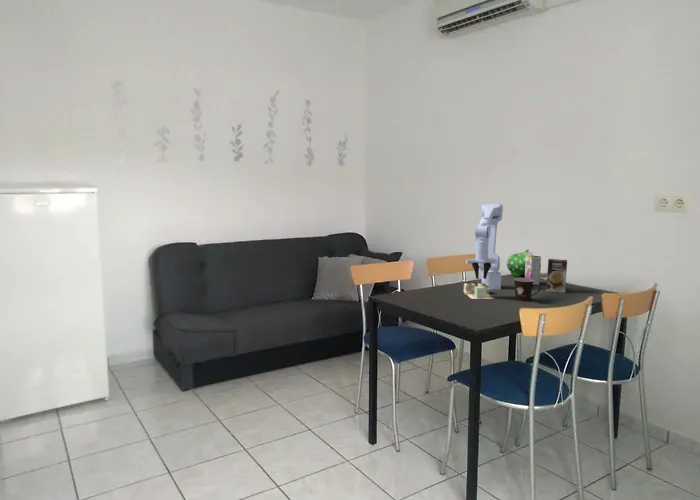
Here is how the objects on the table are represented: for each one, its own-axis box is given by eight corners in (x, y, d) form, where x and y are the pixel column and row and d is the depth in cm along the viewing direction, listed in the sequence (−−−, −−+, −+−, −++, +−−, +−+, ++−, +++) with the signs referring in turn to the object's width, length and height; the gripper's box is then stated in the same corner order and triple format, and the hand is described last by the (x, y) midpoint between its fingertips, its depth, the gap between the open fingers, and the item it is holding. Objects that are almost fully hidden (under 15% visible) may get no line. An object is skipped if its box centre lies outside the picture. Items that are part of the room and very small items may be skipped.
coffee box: (546, 291, 268) (547, 260, 265) (546, 288, 274) (548, 258, 271) (565, 293, 264) (567, 261, 262) (565, 290, 270) (567, 259, 268)
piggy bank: (540, 278, 300) (542, 252, 298) (507, 277, 303) (509, 252, 301) (536, 274, 314) (537, 249, 312) (505, 273, 317) (506, 248, 315)
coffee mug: (509, 299, 250) (510, 278, 249) (523, 297, 253) (524, 277, 252) (526, 305, 239) (527, 283, 238) (541, 303, 243) (542, 282, 241)
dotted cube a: (486, 292, 263) (486, 282, 262) (489, 294, 259) (489, 284, 258) (477, 292, 263) (477, 282, 262) (480, 294, 258) (480, 284, 258)
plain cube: (483, 295, 256) (483, 286, 255) (486, 297, 251) (486, 288, 251) (474, 295, 256) (474, 286, 255) (476, 297, 251) (477, 288, 251)
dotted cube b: (472, 292, 263) (472, 282, 262) (474, 294, 258) (475, 284, 258) (463, 292, 263) (463, 282, 262) (465, 294, 258) (466, 284, 257)
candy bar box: (523, 281, 291) (525, 252, 289) (532, 282, 291) (534, 252, 289) (530, 286, 280) (532, 255, 278) (539, 286, 280) (541, 255, 278)
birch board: (485, 292, 264) (485, 291, 264) (494, 299, 249) (494, 298, 249) (463, 292, 264) (463, 291, 264) (471, 299, 249) (471, 298, 249)
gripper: (469, 251, 246) (468, 280, 248) (499, 251, 247) (498, 280, 249) (465, 249, 253) (464, 277, 255) (495, 249, 254) (493, 277, 256)
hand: (480, 278), depth 252 cm, fingers open, 3 cm apart
